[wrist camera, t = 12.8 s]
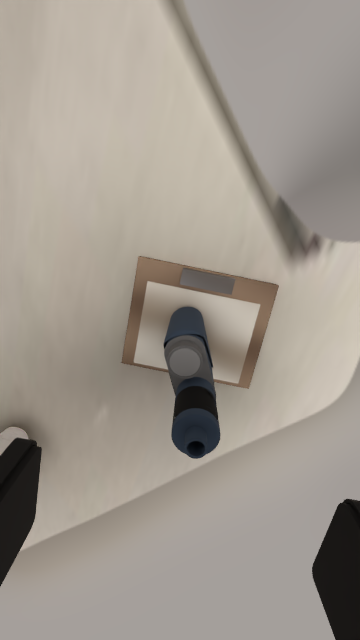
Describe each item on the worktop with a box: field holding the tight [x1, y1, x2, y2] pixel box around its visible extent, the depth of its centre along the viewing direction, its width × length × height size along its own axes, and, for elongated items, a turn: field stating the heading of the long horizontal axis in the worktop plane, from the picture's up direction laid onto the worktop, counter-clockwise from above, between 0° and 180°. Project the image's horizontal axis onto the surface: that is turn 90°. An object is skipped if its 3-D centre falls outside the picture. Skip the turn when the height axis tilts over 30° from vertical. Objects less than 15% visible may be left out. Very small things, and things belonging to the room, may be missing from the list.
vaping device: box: [163, 307, 220, 459], centre depth 19 cm, size 3×5×12 cm, turn 14°
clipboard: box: [122, 256, 279, 389], centre depth 25 cm, size 9×11×1 cm
